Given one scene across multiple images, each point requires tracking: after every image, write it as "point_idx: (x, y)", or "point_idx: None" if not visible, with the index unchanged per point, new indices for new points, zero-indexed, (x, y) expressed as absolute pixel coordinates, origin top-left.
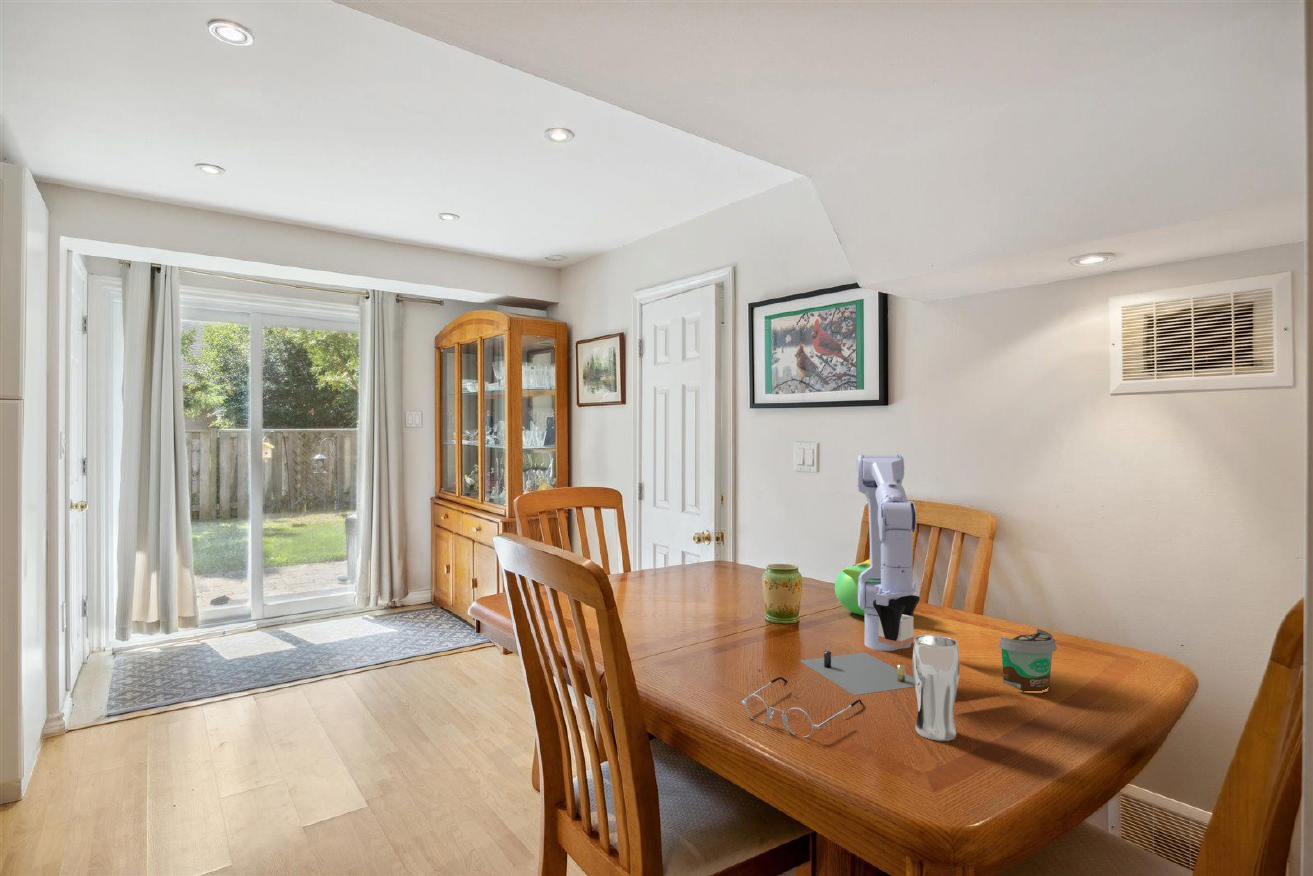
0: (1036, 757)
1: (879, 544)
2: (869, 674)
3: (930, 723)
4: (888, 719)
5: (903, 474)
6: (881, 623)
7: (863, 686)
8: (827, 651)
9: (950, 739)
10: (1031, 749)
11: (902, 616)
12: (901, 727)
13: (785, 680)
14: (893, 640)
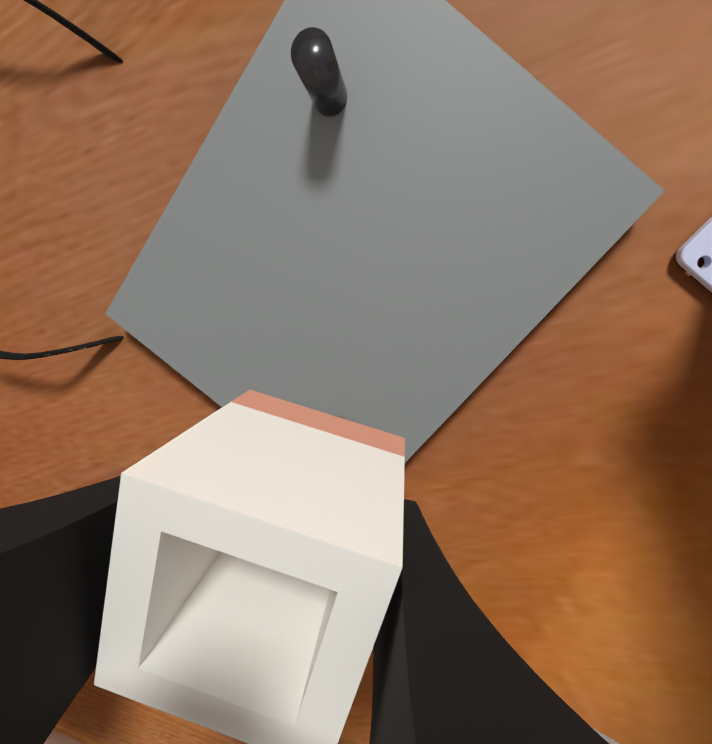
0: (122, 712)
1: None
2: (340, 304)
3: None
4: (91, 427)
5: None
6: (72, 493)
7: (200, 319)
8: (318, 48)
9: None
10: (152, 709)
11: (310, 674)
12: (69, 465)
13: (36, 5)
14: None
